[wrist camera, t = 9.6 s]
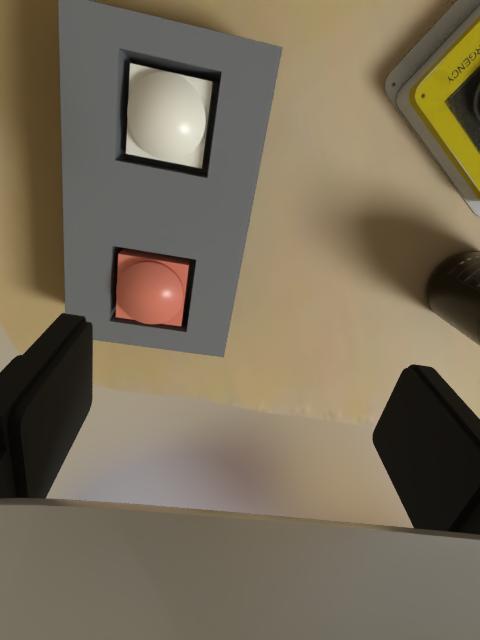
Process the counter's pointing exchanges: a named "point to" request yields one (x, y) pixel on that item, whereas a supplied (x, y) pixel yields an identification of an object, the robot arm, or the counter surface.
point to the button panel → (157, 169)
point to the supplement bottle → (458, 293)
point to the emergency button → (445, 96)
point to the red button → (151, 287)
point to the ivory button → (168, 116)
